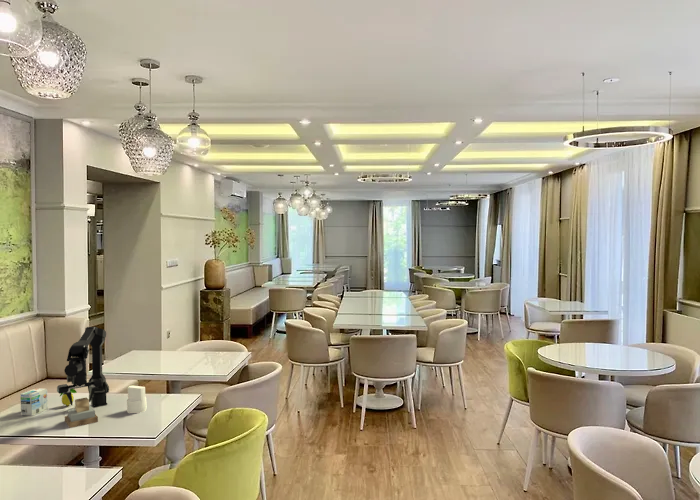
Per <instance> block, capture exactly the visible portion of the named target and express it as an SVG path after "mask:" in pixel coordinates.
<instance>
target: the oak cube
mask: <svg viewBox="0 0 700 500" xmlns="http://www.w3.org/2000/svg"><path fill="white" fill-rule="evenodd" d="M89 406H90V402H89V397H88V398H87V396H86V397H81V398H75V399H74V409H75V410H76V411H77V413H78V412H83V411H88V410H89Z"/></svg>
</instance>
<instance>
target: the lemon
mask: <svg viewBox="0 0 700 500" xmlns="http://www.w3.org/2000/svg"><path fill="white" fill-rule="evenodd" d="M70 392H71V394H72V402H74V401H75V399H74V395H73V394H77V390H76V388H75V389H70ZM59 397H61V404H63V405H64V406H66V407H69V406H71V404H70V401H69V399H68V397H67V395H66V394H65V395H64V394H63V393H61V394H59Z"/></svg>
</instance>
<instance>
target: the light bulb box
mask: <svg viewBox="0 0 700 500" xmlns="http://www.w3.org/2000/svg"><path fill="white" fill-rule="evenodd" d="M19 397H20V415H21V416H31V417H33V416H34V415H37V414H39V413H42V412H44V411H47V410H48V409H49V406H48V402H49V401H48V388H41V387H40V388H39V387H37V388H33V389H31V390H28V391H25V392H23V393H20V395H19Z"/></svg>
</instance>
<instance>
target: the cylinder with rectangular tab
mask: <svg viewBox="0 0 700 500" xmlns="http://www.w3.org/2000/svg"><path fill="white" fill-rule="evenodd" d="M147 404H148V403H147V396H146V387H145V386H138V385H129V386H128V387H127V400H126V406H127V407H126V408H127V409H126V410H127V413H128V414H130V413H137V414H141V413H140V412H142V413H144V412H146V411H147Z"/></svg>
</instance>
